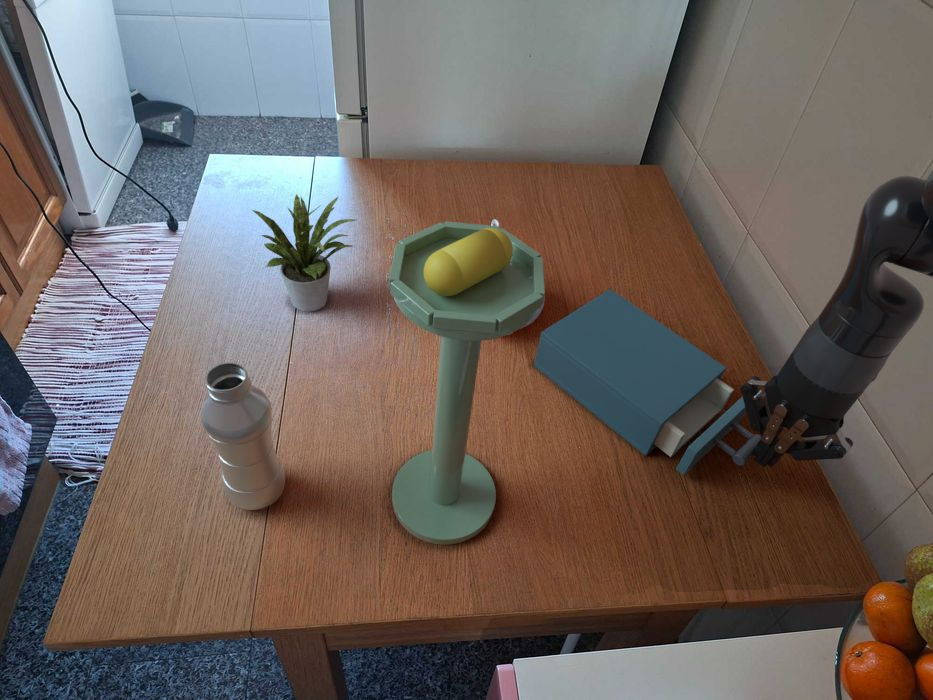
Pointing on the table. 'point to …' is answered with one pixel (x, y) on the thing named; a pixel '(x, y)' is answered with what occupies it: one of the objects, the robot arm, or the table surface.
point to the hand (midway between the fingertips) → (762, 460)
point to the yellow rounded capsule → (467, 261)
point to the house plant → (304, 255)
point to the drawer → (696, 418)
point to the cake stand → (456, 378)
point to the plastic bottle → (242, 437)
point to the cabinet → (624, 367)
